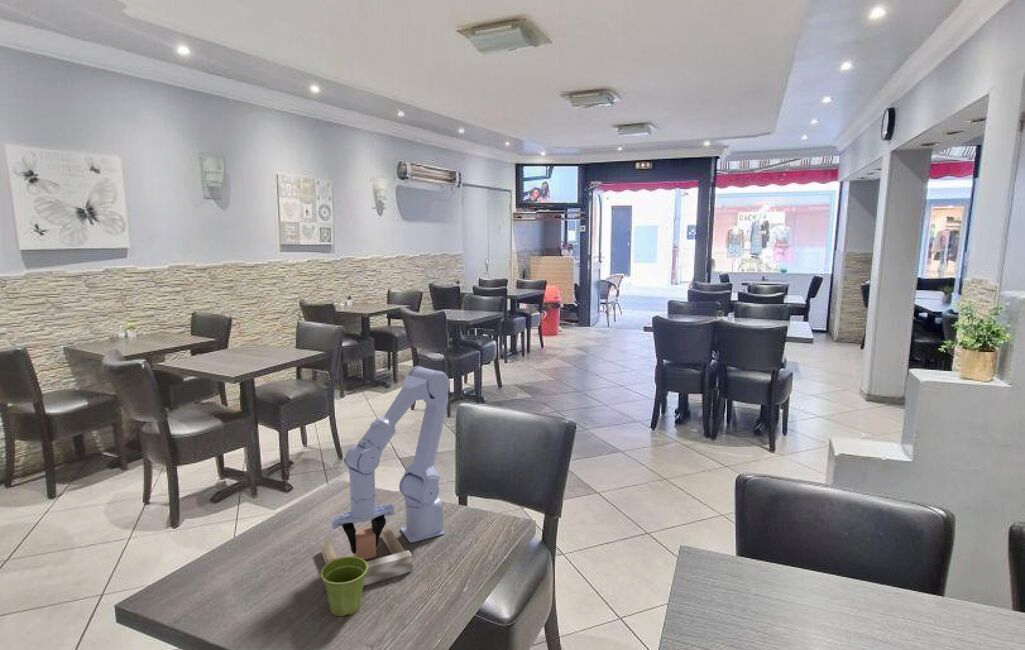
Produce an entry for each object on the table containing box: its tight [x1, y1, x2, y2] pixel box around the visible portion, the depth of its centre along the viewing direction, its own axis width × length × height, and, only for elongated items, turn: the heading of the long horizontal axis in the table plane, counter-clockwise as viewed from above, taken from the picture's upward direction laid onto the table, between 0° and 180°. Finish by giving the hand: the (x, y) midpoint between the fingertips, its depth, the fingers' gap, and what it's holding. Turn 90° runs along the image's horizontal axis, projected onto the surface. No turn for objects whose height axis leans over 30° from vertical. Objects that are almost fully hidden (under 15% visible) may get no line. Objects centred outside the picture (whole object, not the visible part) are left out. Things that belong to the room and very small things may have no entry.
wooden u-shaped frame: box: [320, 525, 413, 587], centre depth 130 cm, size 17×18×4 cm
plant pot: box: [320, 556, 368, 617], centre depth 113 cm, size 9×9×9 cm
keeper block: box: [353, 525, 377, 560], centre depth 130 cm, size 4×4×6 cm
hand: (364, 548), depth 130 cm, fingers closed on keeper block, 4 cm apart
